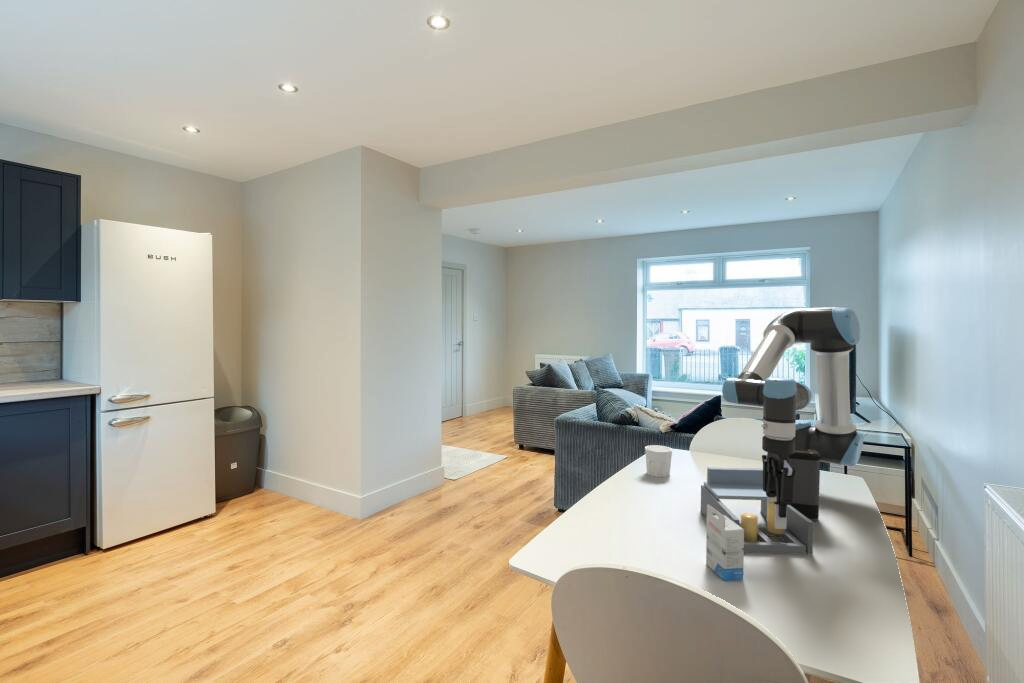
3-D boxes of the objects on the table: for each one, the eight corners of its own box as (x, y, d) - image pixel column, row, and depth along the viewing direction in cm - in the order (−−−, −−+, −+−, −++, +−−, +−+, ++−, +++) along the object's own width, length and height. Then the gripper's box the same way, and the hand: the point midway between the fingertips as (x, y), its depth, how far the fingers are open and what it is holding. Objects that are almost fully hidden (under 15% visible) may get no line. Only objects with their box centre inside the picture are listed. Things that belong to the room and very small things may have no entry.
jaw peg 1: (753, 538, 130) (753, 513, 130) (759, 545, 127) (760, 519, 126) (738, 538, 131) (738, 512, 131) (744, 545, 127) (744, 518, 127)
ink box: (744, 581, 109) (745, 516, 109) (723, 581, 109) (724, 517, 108) (724, 562, 118) (725, 502, 117) (705, 563, 117) (706, 503, 117)
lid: (764, 486, 147) (764, 468, 147) (783, 500, 135) (783, 481, 135) (703, 484, 149) (704, 467, 148) (717, 498, 137) (717, 479, 136)
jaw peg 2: (779, 528, 130) (780, 502, 130) (787, 534, 126) (788, 507, 126) (764, 527, 130) (765, 501, 130) (771, 533, 126) (772, 507, 126)
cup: (675, 478, 182) (675, 451, 182) (648, 477, 182) (649, 451, 182) (667, 470, 192) (667, 445, 192) (641, 469, 192) (642, 445, 192)
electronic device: (814, 514, 147) (816, 449, 147) (819, 522, 142) (821, 454, 141) (780, 510, 150) (781, 446, 150) (783, 517, 145) (785, 451, 144)
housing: (764, 513, 148) (765, 486, 148) (812, 554, 122) (813, 522, 121) (700, 511, 150) (701, 485, 149) (733, 551, 123) (734, 519, 123)
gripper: (750, 429, 136) (748, 512, 136) (779, 444, 119) (776, 538, 120) (778, 430, 135) (775, 513, 136) (810, 444, 119) (808, 539, 119)
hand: (776, 524), depth 128 cm, fingers closed on jaw peg 2, 4 cm apart
